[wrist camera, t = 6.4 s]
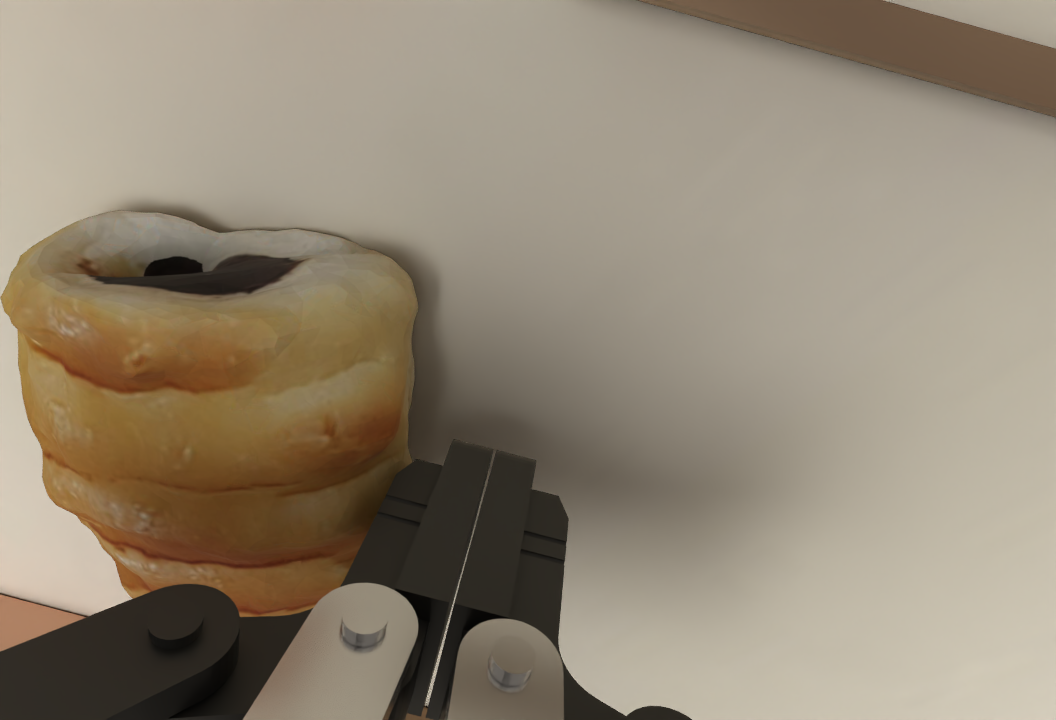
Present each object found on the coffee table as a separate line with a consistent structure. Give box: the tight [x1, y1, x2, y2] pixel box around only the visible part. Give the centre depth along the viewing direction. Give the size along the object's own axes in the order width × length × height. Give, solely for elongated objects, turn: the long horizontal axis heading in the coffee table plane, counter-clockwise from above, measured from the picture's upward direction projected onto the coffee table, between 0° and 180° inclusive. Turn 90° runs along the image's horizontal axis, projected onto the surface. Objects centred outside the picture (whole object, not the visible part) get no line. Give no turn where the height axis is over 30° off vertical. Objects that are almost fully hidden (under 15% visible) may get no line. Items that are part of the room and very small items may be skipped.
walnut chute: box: [405, 0, 1056, 720], centre depth 12 cm, size 17×14×2 cm
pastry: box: [1, 210, 418, 617], centre depth 12 cm, size 9×7×4 cm
